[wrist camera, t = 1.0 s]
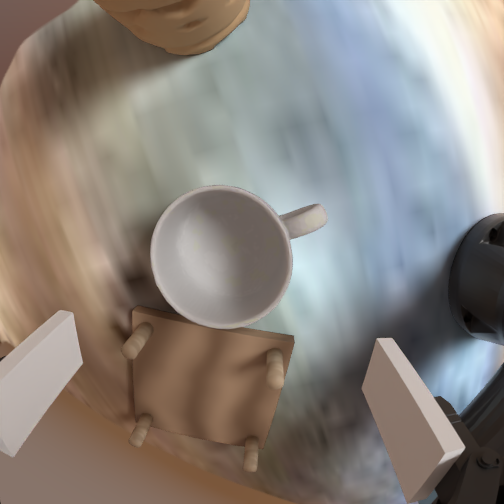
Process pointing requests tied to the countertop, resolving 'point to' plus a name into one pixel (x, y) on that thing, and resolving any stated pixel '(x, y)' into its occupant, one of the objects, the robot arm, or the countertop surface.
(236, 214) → the teacup
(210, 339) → the rack
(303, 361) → the countertop surface
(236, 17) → the container
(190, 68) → the countertop surface
